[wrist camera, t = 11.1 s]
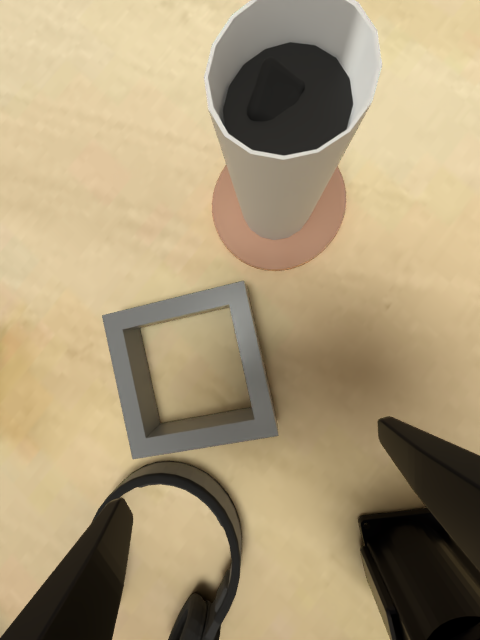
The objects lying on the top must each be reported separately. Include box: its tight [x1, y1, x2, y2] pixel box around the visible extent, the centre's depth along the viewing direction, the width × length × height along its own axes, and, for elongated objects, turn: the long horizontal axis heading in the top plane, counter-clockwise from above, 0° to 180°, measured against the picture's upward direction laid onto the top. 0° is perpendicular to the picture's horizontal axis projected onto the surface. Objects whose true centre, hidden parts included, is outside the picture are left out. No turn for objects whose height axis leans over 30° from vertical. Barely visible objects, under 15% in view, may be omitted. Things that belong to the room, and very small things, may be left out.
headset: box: [92, 461, 242, 640], centre depth 16 cm, size 13×9×19 cm
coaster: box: [212, 165, 346, 271], centre depth 19 cm, size 11×11×1 cm
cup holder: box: [102, 281, 278, 459], centre depth 19 cm, size 12×12×2 cm
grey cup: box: [204, 0, 382, 240], centre depth 13 cm, size 7×7×10 cm
